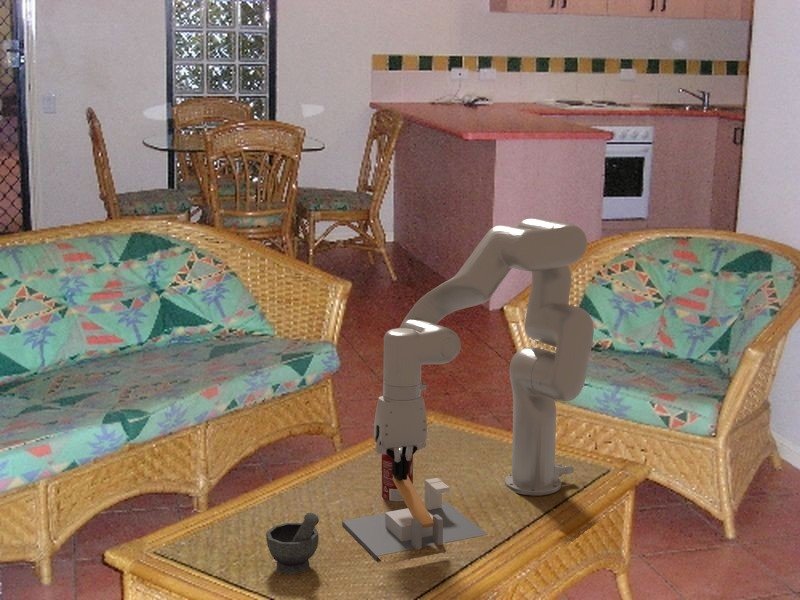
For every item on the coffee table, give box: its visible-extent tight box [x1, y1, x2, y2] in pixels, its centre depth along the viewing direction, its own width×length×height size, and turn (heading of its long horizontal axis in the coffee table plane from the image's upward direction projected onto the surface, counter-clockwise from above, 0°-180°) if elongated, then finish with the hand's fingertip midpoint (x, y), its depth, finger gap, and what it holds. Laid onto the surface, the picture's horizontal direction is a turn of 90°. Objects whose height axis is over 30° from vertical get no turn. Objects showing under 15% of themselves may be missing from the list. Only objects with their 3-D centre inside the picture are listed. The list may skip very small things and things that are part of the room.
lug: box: [424, 477, 450, 510], centre depth 241 cm, size 3×6×6 cm, turn 24°
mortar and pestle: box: [265, 512, 320, 575], centre depth 217 cm, size 11×9×12 cm
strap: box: [392, 475, 434, 528], centre depth 230 cm, size 3×14×1 cm, turn 24°
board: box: [341, 501, 488, 563], centre depth 233 cm, size 24×18×6 cm
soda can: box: [381, 447, 414, 502], centre depth 249 cm, size 7×7×12 cm
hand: (400, 477), depth 234 cm, fingers closed
